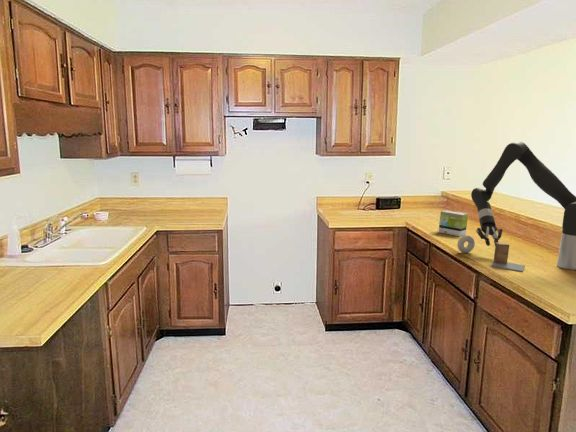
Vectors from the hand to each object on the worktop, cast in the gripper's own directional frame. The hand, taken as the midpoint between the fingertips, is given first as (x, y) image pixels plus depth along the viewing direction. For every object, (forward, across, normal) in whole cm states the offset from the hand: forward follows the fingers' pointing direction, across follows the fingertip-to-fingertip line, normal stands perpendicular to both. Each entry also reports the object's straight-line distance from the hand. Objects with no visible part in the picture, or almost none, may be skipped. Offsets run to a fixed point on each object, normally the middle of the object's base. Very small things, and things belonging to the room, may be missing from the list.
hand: (492, 245), depth 230 cm
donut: (-1, -11, +11) cm, 15 cm away
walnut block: (+12, 0, -3) cm, 13 cm away
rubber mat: (+16, +2, -6) cm, 17 cm away
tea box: (-37, -2, +47) cm, 60 cm away
